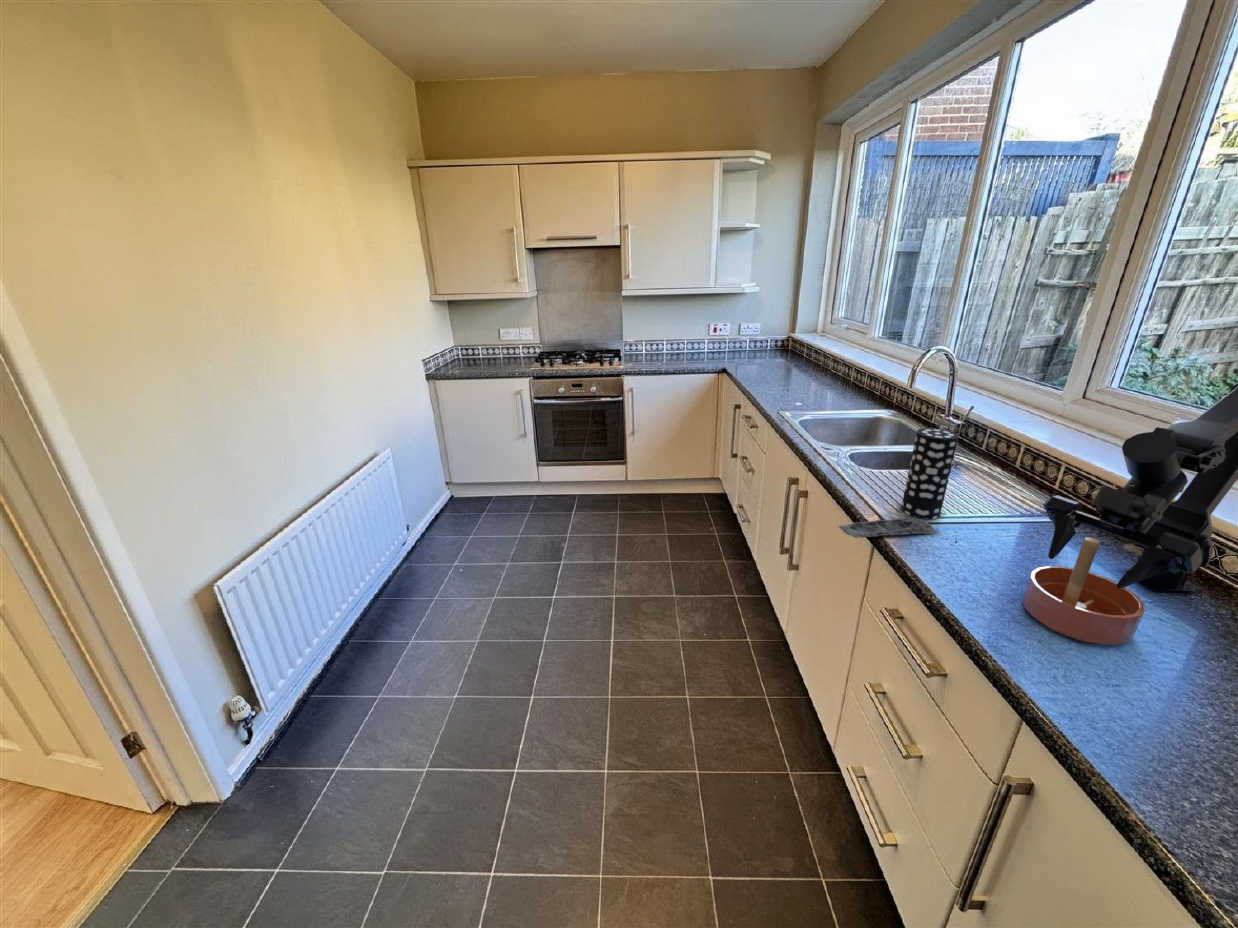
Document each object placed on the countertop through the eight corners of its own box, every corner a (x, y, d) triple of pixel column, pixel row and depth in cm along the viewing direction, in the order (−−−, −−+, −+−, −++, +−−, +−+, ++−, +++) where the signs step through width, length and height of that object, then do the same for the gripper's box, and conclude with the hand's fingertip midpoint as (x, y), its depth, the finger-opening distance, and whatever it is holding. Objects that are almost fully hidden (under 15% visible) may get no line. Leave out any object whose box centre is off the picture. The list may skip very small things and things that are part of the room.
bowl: (1086, 595, 92) (1097, 567, 90) (1156, 650, 79) (1171, 619, 77) (1003, 592, 93) (1011, 564, 91) (1058, 646, 80) (1070, 615, 78)
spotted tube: (919, 501, 128) (935, 426, 121) (948, 515, 121) (968, 436, 114) (893, 506, 126) (908, 430, 119) (921, 521, 119) (939, 441, 111)
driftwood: (920, 520, 119) (922, 512, 118) (940, 535, 113) (942, 526, 112) (836, 527, 117) (837, 519, 117) (851, 542, 111) (852, 534, 110)
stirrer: (1083, 602, 88) (1113, 524, 83) (1097, 609, 87) (1129, 530, 81) (1052, 618, 84) (1081, 538, 79) (1066, 625, 83) (1097, 544, 77)
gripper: (1067, 450, 85) (1007, 522, 85) (1226, 492, 69) (1152, 581, 69) (1079, 485, 90) (1023, 552, 90) (1229, 532, 74) (1161, 613, 74)
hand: (1082, 571), depth 81 cm, fingers open, 9 cm apart
